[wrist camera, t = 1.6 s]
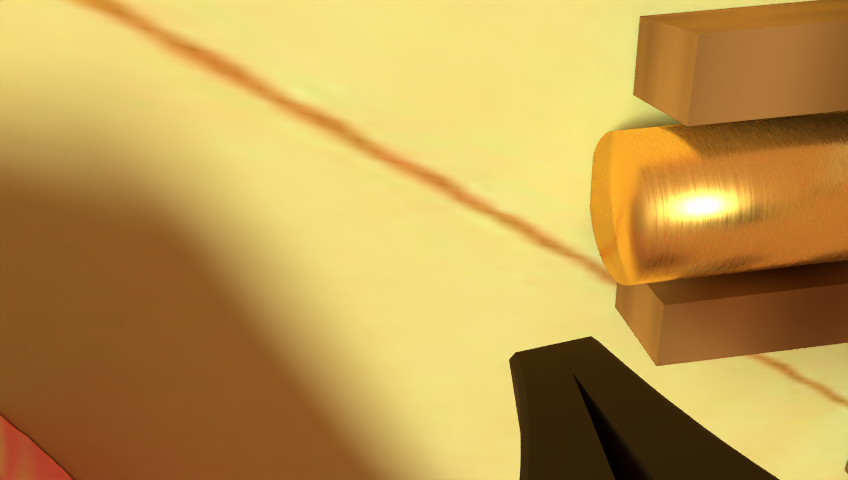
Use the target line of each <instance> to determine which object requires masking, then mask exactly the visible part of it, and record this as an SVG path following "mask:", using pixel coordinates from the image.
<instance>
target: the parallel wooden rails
mask: <svg viewBox="0 0 848 480" xmlns="http://www.w3.org/2000/svg"><path fill="white" fill-rule="evenodd" d="M633 95H634V96H636V97H638V98H640V99H641V100H643V101H645V102H646V103H648V104H650V105H652V106H653V107H655V108H657V109H658V110H660V111H662V112H664V113H665V114H667V115H669V116H670V117H672V118H674V119H676V120H677V121H679V122H681V123H682V124H684V125H686V126H695V125H705V124H715V123H725V122H735V121H745V120H755V119H765V118H775V117H785V116H795V115H805V114H815V113H824V112H834V111H844V110H848V0H817V1H806V2H795V3H784V4H773V5H762V6H750V7H739V8H728V9H717V10H706V11H695V12H684V13H672V14H661V15H650V16H640V23H639V35H638V46H637V58H636V70H635V82H634V93H633ZM615 307H616V309H617V310H618V312H619V313H620V314H621V316H622V317H623V319H624V320H625V322H626V323H627V325H628V326H629V327H630V329H631V330H632V332H633V333H634V335H635V336H636V338H637V339H638V340H639V342H640V343H641V345H642V346H643V348H644V349H645V350H646V352H647V353H648V355H649V356H650V358H651V359H652V361H653V362H654V363H655V365H656V366H661V365H670V364H678V363H686V362H694V361H702V360H710V359H718V358H726V357H734V356H742V355H751V354H759V353H767V352H775V351H783V350H791V349H799V348H807V347H815V346H823V345H832V344H840V343H848V260H844V261H835V262H826V263H817V264H809V265H800V266H791V267H783V268H774V269H765V270H757V271H748V272H739V273H731V274H722V275H713V276H705V277H696V278H687V279H679V280H670V281H661V282H652V283H644V284H635V285H621V284H620V283H618V282H617V292H616V304H615Z"/></svg>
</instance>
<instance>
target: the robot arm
mask: <svg viewBox="0 0 848 480" xmlns="http://www.w3.org/2000/svg"><path fill="white" fill-rule="evenodd" d="M509 362H510V368H511V375H512V381H513V388H514V394H515V400H516V407H517V413H518V420H519V426H520V433H521V466H520V480H779V479H778V478H776V477H775V476H773V475H772V474H770V473H769V472H767V471H766V470H764V469H763V468H761V467H760V466H758V465H757V464H755V463H754V462H752V461H751V460H749V459H748V458H747V457H745V456H744V455H742V454H741V453H739V452H738V451H736V450H735V449H733V448H732V447H731V446H729V445H728V444H726V443H725V442H723V441H722V440H721V439H719V438H718V437H717V436H715V435H714V434H712V433H711V432H710V431H708V430H707V429H705V428H704V427H703V426H702V425H700V424H699V423H698V422H696V421H695V420H694V419H692V418H691V417H690V416H688V415H687V414H686V413H684V412H683V411H682V410H681V409H679V408H678V407H677V406H675V405H674V404H673V403H671V402H670V401H669V400H667V399H666V398H665V397H664V396H662V395H661V394H660V393H659V392H657V391H656V390H655V389H654V388H653V387H651V386H650V385H649V384H648V383H646V382H645V381H644V380H643V379H642V378H640V377H639V376H638V375H637V374H636V373H634V372H633V371H632V370H631V369H630V368H628V367H627V366H626V365H625V364H624V363H623V362H621V361H620V360H619V359H618V358H617V357H616V356H615V355H613V354H612V353H611V352H610V351H609V350H608V349H607V348H605V347H604V346H603V345H602V344H601V343H600V342H599V341H597V340H596V339H594V338H593V337H591V336H590V337H585V338H581V339H576V340H571V341H567V342H562V343H558V344H553V345H548V346H544V347H539V348H534V349H530V350H525V351H521V352H516V353H515V354H514V355H513V356H512V357H511V358H510V360H509Z"/></svg>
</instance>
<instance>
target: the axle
mask: <svg viewBox="0 0 848 480" xmlns="http://www.w3.org/2000/svg"><path fill="white" fill-rule="evenodd" d="M590 212H591V220H592V226H593V232H594V236H595V240H596V244H597V247H598V250H599V253H600V256H601V258H602V261H603V263H604V265H605V267H606V269H607V270H608V272H609V274H610V275H611V276H612V277H613V279H614V280H615V281H617V282H618V283H620V284H621V285H635V284H644V283H652V282H661V281H670V280H679V279H687V278H696V277H705V276H713V275H722V274H731V273H739V272H748V271H757V270H765V269H774V268H783V267H791V266H800V265H809V264H817V263H826V262H835V261H844V260H848V110H844V111H834V112H824V113H815V114H805V115H795V116H785V117H775V118H765V119H755V120H745V121H735V122H725V123H715V124H705V125H695V126H686V125H684V124H678V125H668V126H659V127H649V128H639V129H629V130H619V131H610V132H607V133H606V134H605V135H603V137H602V138H601V139H600V141H599V142H598V144H597V147H596V149H595V152H594V155H593V165H592V182H591V199H590Z"/></svg>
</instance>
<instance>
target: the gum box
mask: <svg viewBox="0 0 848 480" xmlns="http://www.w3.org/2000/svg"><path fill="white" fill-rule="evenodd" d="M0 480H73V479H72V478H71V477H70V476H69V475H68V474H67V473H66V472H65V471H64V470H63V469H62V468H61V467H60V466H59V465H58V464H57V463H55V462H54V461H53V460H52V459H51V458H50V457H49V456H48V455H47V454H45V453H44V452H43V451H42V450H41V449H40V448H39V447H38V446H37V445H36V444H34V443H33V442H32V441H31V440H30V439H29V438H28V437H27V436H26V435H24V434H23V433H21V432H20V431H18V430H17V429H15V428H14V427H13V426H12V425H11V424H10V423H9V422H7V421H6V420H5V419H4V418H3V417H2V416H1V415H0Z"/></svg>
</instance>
